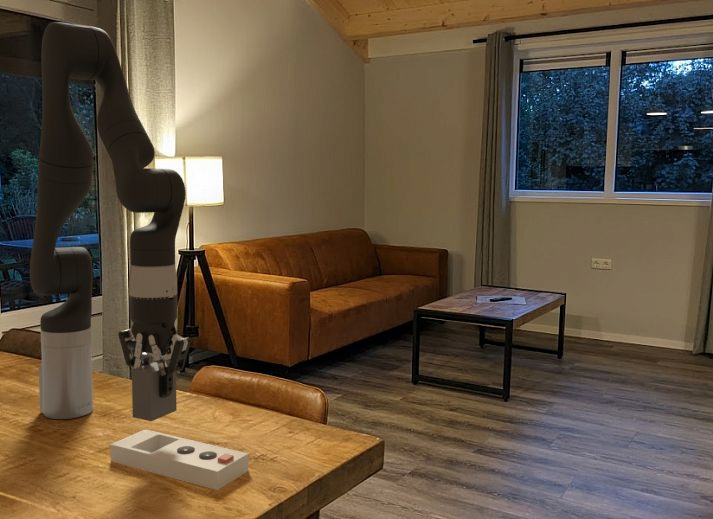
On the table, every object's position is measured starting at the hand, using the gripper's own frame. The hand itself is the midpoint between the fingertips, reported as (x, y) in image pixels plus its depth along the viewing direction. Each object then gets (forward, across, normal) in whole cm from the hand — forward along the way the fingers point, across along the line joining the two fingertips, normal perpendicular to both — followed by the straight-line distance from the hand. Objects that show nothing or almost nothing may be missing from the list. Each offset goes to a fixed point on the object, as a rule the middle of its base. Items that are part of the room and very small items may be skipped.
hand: (154, 393), depth 115 cm
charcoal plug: (+3, 0, 0) cm, 3 cm away
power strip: (+12, +5, 0) cm, 13 cm away
